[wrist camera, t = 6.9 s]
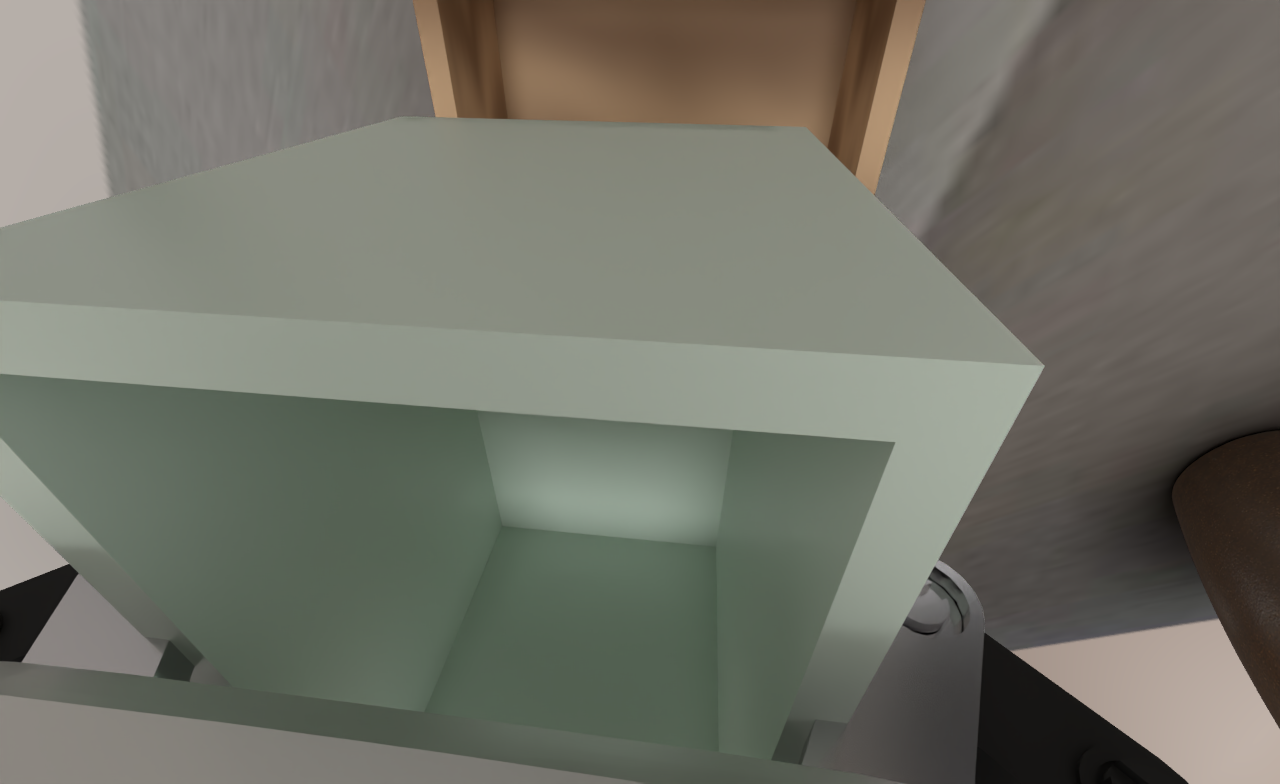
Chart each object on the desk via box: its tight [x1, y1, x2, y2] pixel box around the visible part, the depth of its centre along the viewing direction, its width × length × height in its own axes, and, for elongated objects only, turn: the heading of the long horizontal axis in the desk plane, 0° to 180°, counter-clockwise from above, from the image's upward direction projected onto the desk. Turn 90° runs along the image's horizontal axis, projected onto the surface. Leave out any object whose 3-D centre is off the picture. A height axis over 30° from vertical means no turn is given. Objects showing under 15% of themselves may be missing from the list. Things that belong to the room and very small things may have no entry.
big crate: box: [413, 0, 926, 195], centre depth 22 cm, size 17×16×6 cm
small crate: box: [0, 116, 1044, 764], centre depth 8 cm, size 10×7×7 cm, turn 0°
